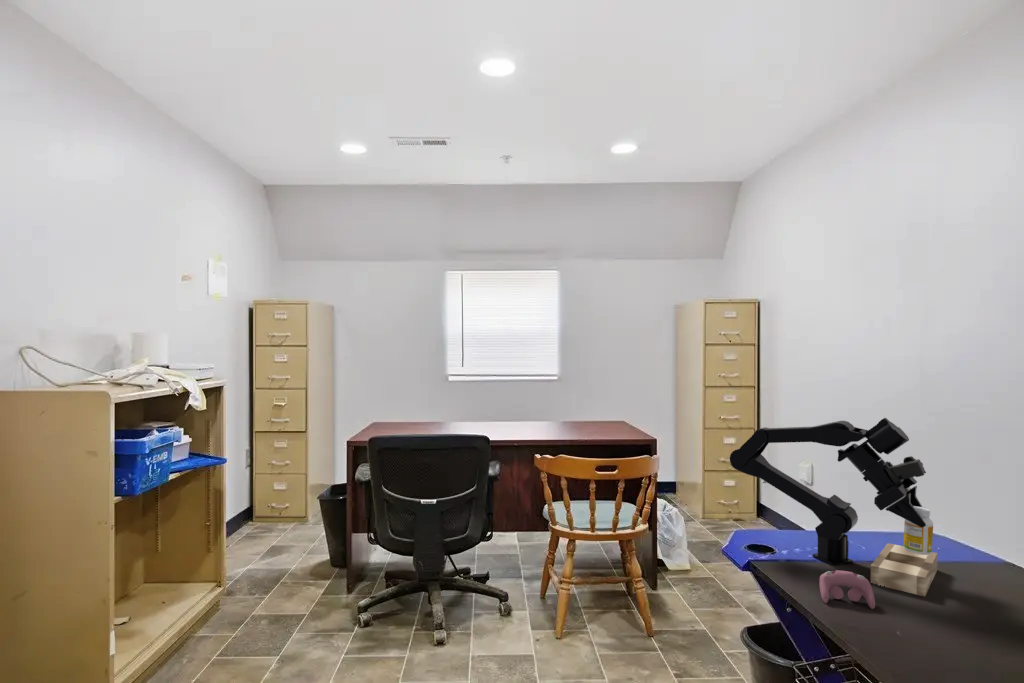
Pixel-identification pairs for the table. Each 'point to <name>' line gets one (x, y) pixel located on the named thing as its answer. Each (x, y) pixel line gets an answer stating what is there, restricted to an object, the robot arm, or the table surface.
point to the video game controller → (844, 578)
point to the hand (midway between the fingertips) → (926, 523)
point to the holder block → (904, 570)
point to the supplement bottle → (919, 534)
